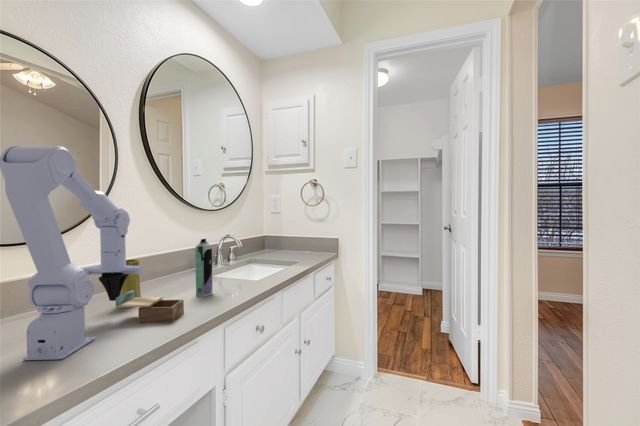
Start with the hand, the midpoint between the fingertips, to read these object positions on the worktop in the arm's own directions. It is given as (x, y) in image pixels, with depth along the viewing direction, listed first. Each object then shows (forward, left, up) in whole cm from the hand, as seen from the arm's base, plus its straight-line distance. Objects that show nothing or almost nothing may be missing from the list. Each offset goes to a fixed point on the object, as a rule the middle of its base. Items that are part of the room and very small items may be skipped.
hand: (114, 299), depth 82 cm
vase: (+12, +3, -6) cm, 14 cm away
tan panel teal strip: (0, -7, -1) cm, 7 cm away
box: (0, -13, -5) cm, 14 cm away
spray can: (+22, -17, -6) cm, 28 cm away
